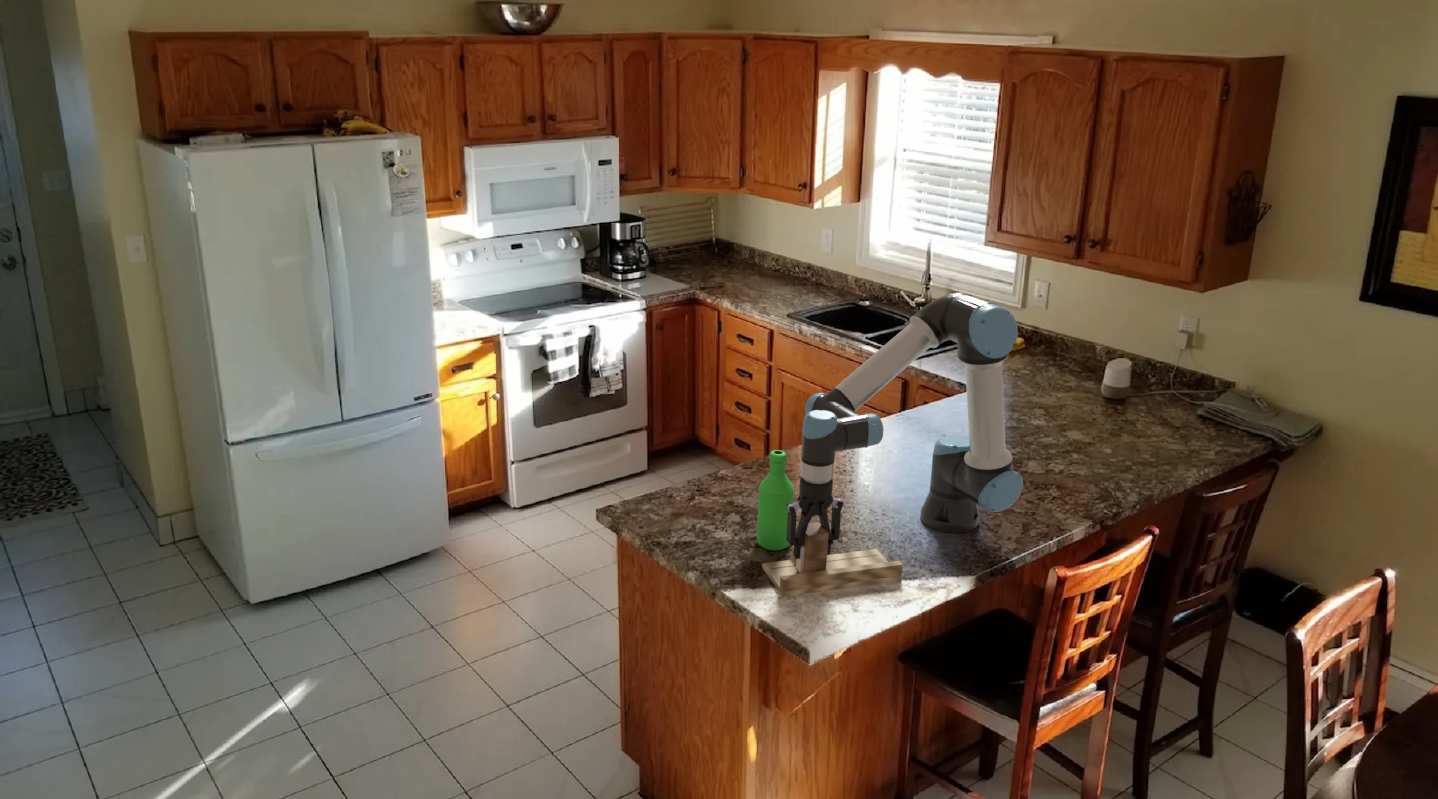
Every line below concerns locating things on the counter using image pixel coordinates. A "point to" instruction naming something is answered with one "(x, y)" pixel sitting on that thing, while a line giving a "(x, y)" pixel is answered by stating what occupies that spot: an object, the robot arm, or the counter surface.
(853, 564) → the board
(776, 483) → the bottle
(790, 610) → the counter surface
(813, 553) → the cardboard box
